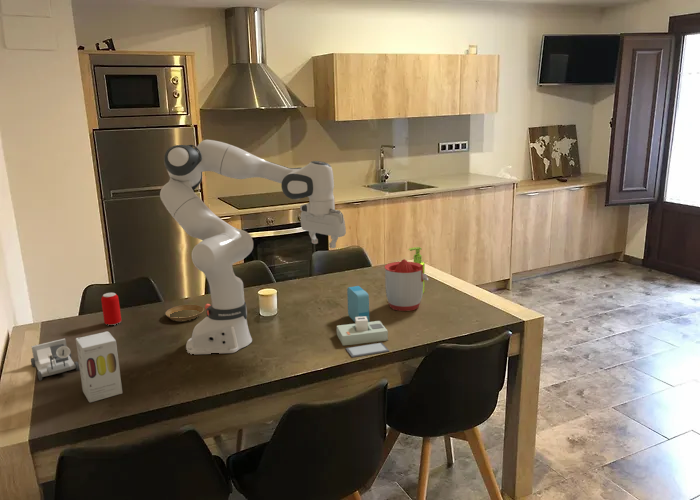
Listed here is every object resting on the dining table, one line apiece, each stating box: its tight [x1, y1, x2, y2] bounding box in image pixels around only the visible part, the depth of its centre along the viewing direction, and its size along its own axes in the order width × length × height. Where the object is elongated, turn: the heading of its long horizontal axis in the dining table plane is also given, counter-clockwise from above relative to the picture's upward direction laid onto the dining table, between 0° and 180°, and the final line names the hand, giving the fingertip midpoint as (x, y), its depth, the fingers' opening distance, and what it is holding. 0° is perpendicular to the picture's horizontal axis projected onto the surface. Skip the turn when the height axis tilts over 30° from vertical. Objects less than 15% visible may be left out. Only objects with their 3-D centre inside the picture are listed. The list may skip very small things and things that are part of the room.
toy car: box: [30, 338, 80, 382], centre depth 182 cm, size 18×10×12 cm
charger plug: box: [354, 316, 368, 332], centre depth 201 cm, size 4×4×7 cm
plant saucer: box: [164, 304, 205, 322], centre depth 226 cm, size 15×15×3 cm
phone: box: [345, 341, 390, 359], centre depth 191 cm, size 13×7×1 cm, turn 108°
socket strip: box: [336, 320, 389, 346], centre depth 201 cm, size 16×10×4 cm, turn 103°
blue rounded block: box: [346, 285, 370, 323], centre depth 217 cm, size 12×4×12 cm, turn 19°
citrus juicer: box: [384, 258, 429, 312], centre depth 228 cm, size 16×17×20 cm
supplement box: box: [75, 331, 123, 404], centre depth 165 cm, size 10×9×17 cm
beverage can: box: [100, 292, 122, 326], centre depth 219 cm, size 6×6×12 cm
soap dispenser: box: [408, 246, 426, 294], centre depth 245 cm, size 6×7×20 cm
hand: (323, 245), depth 205 cm, fingers open, 8 cm apart
